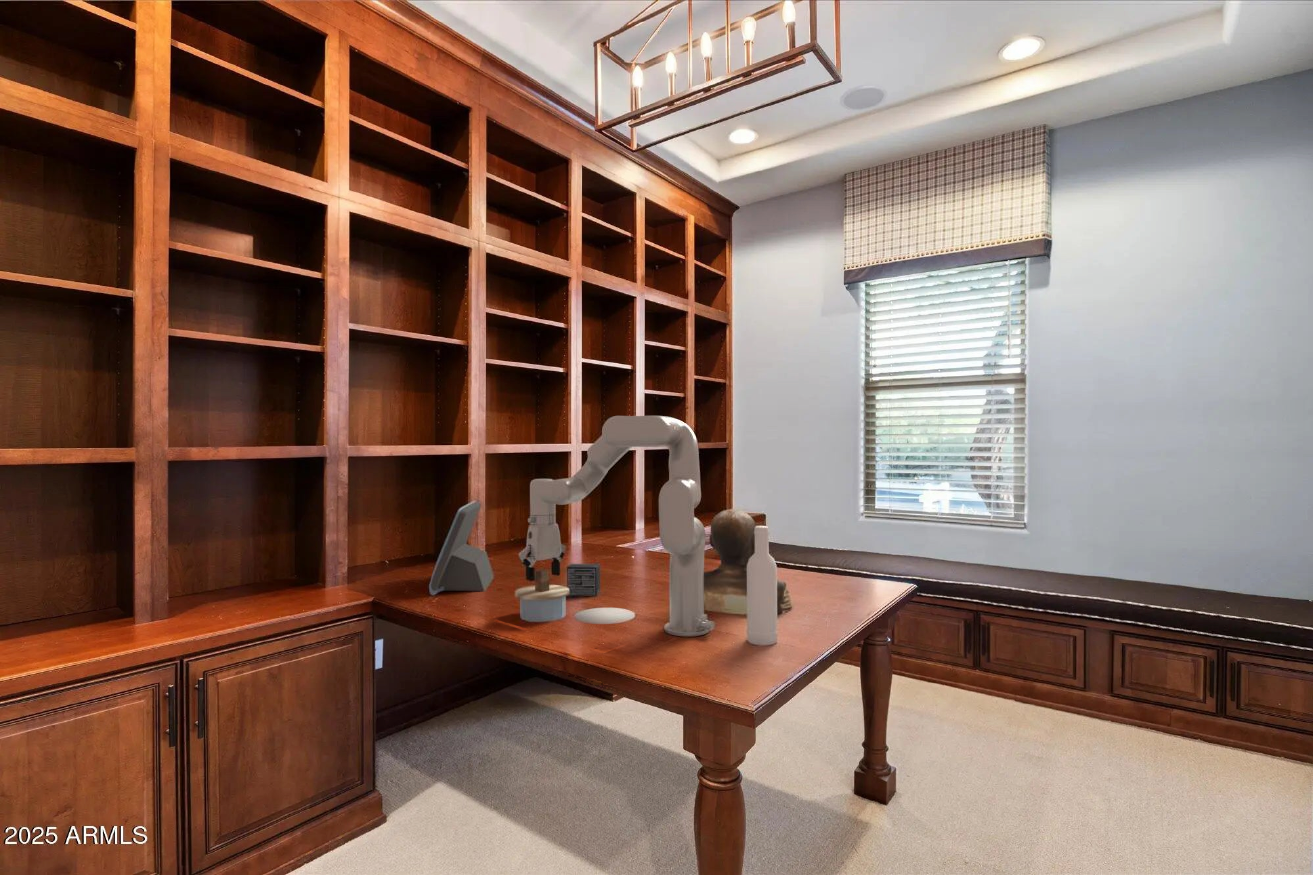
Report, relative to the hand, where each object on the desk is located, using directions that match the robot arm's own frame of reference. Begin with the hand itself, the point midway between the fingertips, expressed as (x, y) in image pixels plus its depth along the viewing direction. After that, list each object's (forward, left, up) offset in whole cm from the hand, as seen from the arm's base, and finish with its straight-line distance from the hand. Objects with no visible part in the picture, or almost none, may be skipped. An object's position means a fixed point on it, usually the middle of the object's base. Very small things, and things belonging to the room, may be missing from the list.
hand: (543, 577), depth 192 cm
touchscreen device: (+59, -11, -12) cm, 61 cm away
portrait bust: (-36, -49, -12) cm, 62 cm away
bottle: (-62, -22, -12) cm, 67 cm away
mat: (-14, -12, -12) cm, 22 cm away
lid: (0, 0, -5) cm, 5 cm away
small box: (+11, -27, -12) cm, 32 cm away
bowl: (0, 0, -12) cm, 12 cm away
